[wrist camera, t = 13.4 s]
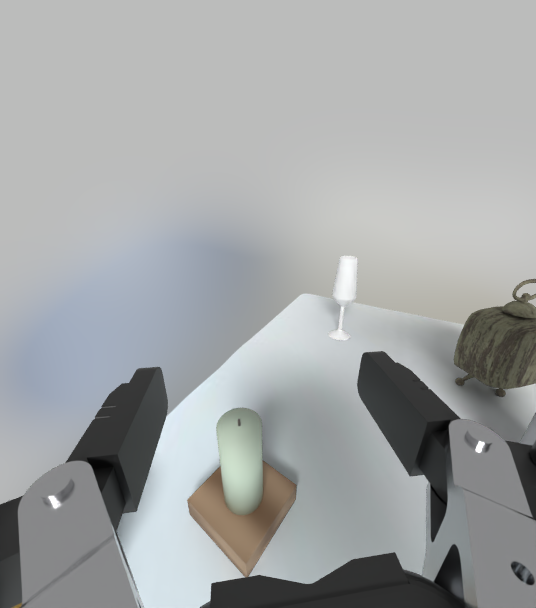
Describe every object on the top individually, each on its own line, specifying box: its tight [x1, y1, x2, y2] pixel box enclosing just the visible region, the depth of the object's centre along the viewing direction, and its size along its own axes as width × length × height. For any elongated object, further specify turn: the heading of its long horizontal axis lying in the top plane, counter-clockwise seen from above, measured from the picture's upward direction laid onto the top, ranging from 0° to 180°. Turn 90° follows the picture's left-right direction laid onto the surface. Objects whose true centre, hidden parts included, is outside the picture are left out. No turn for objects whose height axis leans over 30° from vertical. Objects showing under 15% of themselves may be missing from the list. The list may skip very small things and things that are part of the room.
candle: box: [216, 408, 263, 515], centre depth 30 cm, size 5×5×13 cm
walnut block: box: [187, 460, 297, 577], centre depth 34 cm, size 10×10×3 cm
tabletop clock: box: [454, 279, 536, 397], centre depth 51 cm, size 14×9×25 cm, turn 103°
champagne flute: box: [328, 256, 358, 340], centre depth 74 cm, size 7×7×24 cm
